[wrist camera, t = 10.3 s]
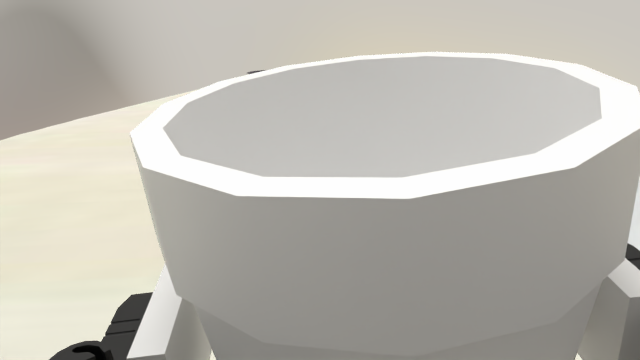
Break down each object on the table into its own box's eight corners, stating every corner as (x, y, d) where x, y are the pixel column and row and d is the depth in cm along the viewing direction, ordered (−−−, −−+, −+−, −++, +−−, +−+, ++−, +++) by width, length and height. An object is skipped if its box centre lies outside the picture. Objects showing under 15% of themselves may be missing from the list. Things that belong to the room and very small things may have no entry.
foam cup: (325, 362, 21) (288, 54, 16) (567, 432, 17) (624, 48, 12) (175, 607, 13) (8, 164, 8) (550, 841, 9) (693, 258, 4)
